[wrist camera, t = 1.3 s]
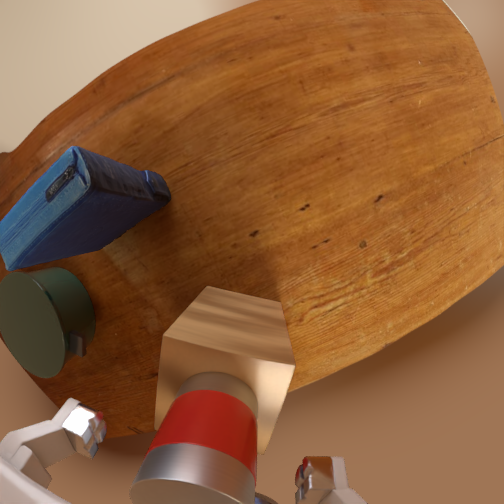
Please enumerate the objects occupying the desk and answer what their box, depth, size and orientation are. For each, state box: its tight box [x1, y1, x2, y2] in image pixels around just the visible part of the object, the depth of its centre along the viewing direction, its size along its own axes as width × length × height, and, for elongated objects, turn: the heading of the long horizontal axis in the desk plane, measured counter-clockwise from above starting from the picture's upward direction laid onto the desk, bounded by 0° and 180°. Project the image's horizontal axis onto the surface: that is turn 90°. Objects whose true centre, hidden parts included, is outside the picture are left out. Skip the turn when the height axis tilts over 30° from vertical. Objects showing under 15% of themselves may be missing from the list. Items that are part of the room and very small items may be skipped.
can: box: [129, 372, 258, 504], centre depth 15 cm, size 6×6×11 cm
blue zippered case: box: [0, 146, 171, 271], centre depth 27 cm, size 14×5×20 cm, turn 120°
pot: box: [0, 267, 96, 378], centre depth 34 cm, size 16×20×9 cm
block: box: [154, 286, 296, 455], centre depth 29 cm, size 10×10×18 cm
